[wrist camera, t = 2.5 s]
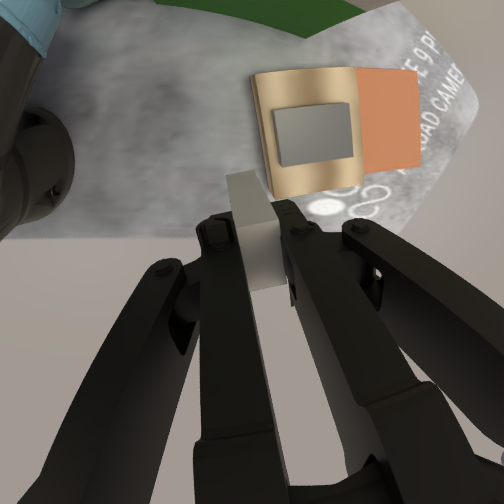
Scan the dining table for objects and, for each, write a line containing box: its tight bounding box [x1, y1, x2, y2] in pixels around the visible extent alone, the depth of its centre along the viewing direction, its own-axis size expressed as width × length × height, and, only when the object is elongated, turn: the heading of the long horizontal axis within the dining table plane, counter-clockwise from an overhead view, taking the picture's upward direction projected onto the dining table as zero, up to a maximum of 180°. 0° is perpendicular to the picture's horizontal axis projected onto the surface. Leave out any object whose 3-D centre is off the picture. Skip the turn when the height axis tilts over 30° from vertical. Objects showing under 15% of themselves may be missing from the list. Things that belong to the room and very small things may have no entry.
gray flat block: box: [271, 102, 354, 168], centre depth 29 cm, size 8×6×2 cm
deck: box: [250, 67, 364, 200], centre depth 31 cm, size 11×14×4 cm
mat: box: [355, 68, 421, 174], centre depth 33 cm, size 11×14×1 cm
